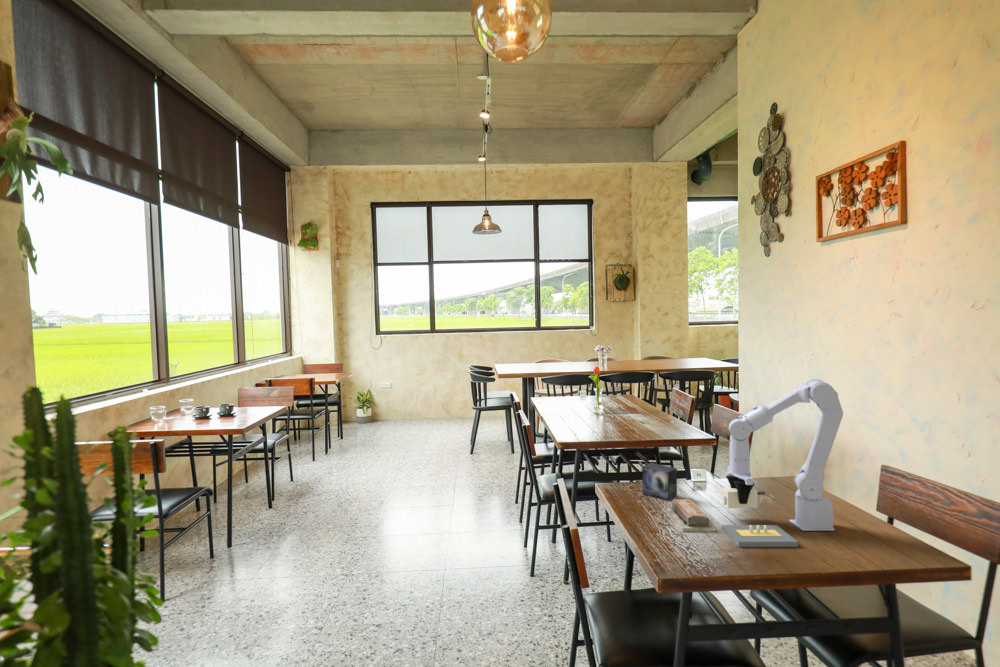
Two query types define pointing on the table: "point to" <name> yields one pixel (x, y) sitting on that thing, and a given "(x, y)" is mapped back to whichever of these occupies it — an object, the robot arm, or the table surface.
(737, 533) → the board
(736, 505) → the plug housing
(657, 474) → the small box
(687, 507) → the packaged product
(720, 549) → the table surface
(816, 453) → the robot arm
